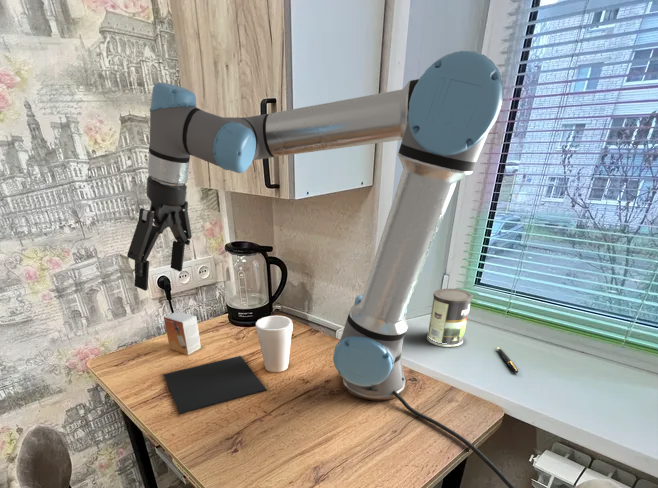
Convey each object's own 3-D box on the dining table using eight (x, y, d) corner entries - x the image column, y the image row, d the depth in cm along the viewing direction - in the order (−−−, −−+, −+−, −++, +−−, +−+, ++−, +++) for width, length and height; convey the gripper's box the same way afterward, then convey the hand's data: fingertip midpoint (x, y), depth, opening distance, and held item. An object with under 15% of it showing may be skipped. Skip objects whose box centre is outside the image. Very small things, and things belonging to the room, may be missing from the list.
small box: (169, 349, 125) (162, 316, 119) (183, 342, 129) (177, 310, 123) (188, 355, 121) (182, 322, 115) (201, 348, 125) (196, 315, 119)
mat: (266, 390, 103) (266, 389, 103) (179, 414, 96) (179, 413, 96) (240, 357, 119) (240, 355, 119) (163, 375, 112) (163, 374, 111)
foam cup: (289, 376, 109) (287, 331, 102) (255, 373, 110) (251, 329, 104) (296, 359, 117) (294, 316, 110) (264, 357, 118) (261, 314, 111)
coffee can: (466, 336, 125) (476, 291, 117) (457, 350, 118) (467, 303, 110) (432, 329, 130) (439, 286, 122) (422, 342, 123) (428, 296, 115)
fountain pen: (494, 349, 118) (496, 344, 117) (499, 349, 117) (500, 344, 117) (514, 374, 105) (516, 369, 105) (519, 375, 105) (521, 369, 105)
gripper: (184, 167, 91) (175, 257, 104) (107, 180, 72) (108, 289, 85) (214, 178, 90) (201, 268, 103) (144, 196, 71) (139, 304, 84)
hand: (159, 278), depth 94 cm, fingers open, 13 cm apart
